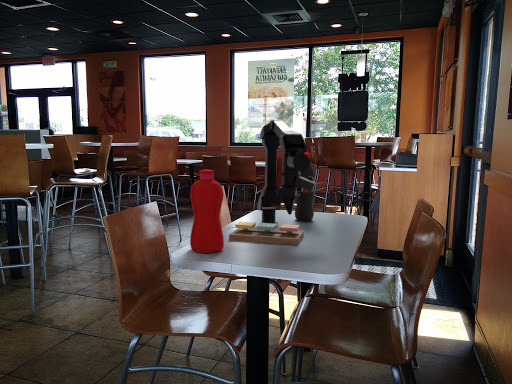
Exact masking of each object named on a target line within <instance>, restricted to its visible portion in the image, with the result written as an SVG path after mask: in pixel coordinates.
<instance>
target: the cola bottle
mask: <svg viewBox="0 0 512 384" xmlns="http://www.w3.org/2000/svg"><path fill="white" fill-rule="evenodd" d="M304 154H306V155H307V156H308V158H309V160H310V159H311V153H310V152H306V153H304ZM310 161H311V160H310ZM299 172H300V173H301V177H303V178H306V179H307V178H308V177H309V176H310V177H312V178H313V181H314V182H315V176H316V173H315V170H314V168H313V166H312V164H311V163H310V165H309V167H308V168H307V169H306V170H305V171H299ZM297 194H300V195H299V196H298V197H297V198H296V199H295V203H296V207H295V209H294V217H295V219H296V221H298V222H311V221H312V220H313V219H314V216H315V212H314V207H313V203H314V197H315V188H314V189H313V191H312V192H309V191H307V190H306V189H303V191H302V192H300V191H297Z"/></svg>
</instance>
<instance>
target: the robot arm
mask: <svg viewBox="0 0 512 384" xmlns="http://www.w3.org/2000/svg"><path fill="white" fill-rule="evenodd" d="M259 136H260V140H261V145H262V146H263V148H264V150H265V151H264V152H265V154H264V155H265V159H264V161H265V162H264V186H263V187H262V189H261V190H260V195H259V198H258V201H257V204H256V205H257V210H258V211H260V212H261V222H260V223H272V224H277V225H278V221H276V214H277V213H276V212H277V211H280V210H281V207H282V203H283V204H284V208H285V210H286V212H287V215H289V216H291V215H292V213H293V212H294V211H293V210H294V206H295V203H296V198H297V197H298V196H299V195H300V194H297V191H300V192H302V191H303V189H306V190H307V191H309V192H312V191H313V189H314V190H315V187H316V185H317V183H316V181H315V180H314V181H313V178H312V177H310V176H309V177H308V178H307V179H306V178H303V177H301V173H300V172H299V171H305V170H306V169H307V168H308V167H309V165H310V164H311V160H309V159H310V158H308V156H307V155H306V154H304V153H308V152H307V151H308V150H307V149H308V147H307V144H306V141H305V139H304V136H303V134H302V133H301V132H299V131H295V130H292V129H291V128H289V126H288V125H287V124H286V123H285V121H284V119H271V120H270V121H269V123H267V124H265V125H263V126H262V127H261V130H260V134H259ZM279 147H280V149H281V151H282V154H281V155H282V172H281V174H280V175H281V176H282V178H281V179H282V184H281V185H280V187H279V188H278V187H277V159H278V158H277V155H278V154H277V153H278V149H279Z"/></svg>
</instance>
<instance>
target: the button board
mask: <svg viewBox="0 0 512 384" xmlns="http://www.w3.org/2000/svg"><path fill="white" fill-rule="evenodd" d="M304 234H305V230H300V229H299V230H298V231H297V232H293V235H287V231H280V228H276V229H275V230H270V233H265V230H259V229H257V226H255V227H254V228H252V229H248V232H243V228H235V230H233V231H232V232H231V233H229V234H228V240H229V241H238V242H239V241H240V242H251V243H252V242H253V243H263V244H264V243H268V244H280V245H293V246H298V245H299V244H300V243H301V241H302V239H304V236H305V235H304Z"/></svg>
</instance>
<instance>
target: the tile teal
mask: <svg viewBox="0 0 512 384" xmlns="http://www.w3.org/2000/svg"><path fill="white" fill-rule="evenodd" d="M256 228H257V229H259V230H265V233H270V230H275V229H278V223H277V224H272V223H261V222H259V224H258V225H256Z"/></svg>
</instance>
